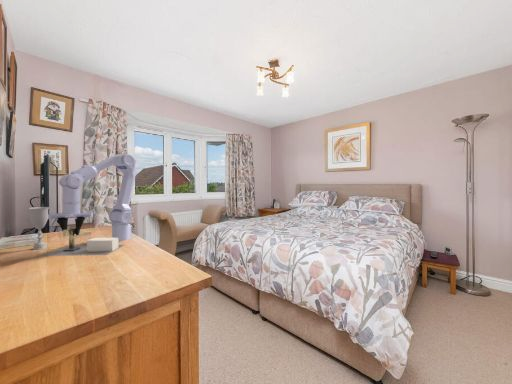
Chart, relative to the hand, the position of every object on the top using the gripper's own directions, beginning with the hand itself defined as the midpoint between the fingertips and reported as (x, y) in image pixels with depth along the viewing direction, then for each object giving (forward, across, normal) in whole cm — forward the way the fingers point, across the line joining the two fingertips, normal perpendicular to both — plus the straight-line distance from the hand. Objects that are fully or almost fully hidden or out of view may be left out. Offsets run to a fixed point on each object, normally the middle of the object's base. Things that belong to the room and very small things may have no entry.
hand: (71, 235), depth 96 cm
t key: (+5, +2, +2) cm, 6 cm away
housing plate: (+7, +6, -2) cm, 9 cm away
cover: (+6, +12, -4) cm, 14 cm away
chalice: (+8, -14, +13) cm, 21 cm away
